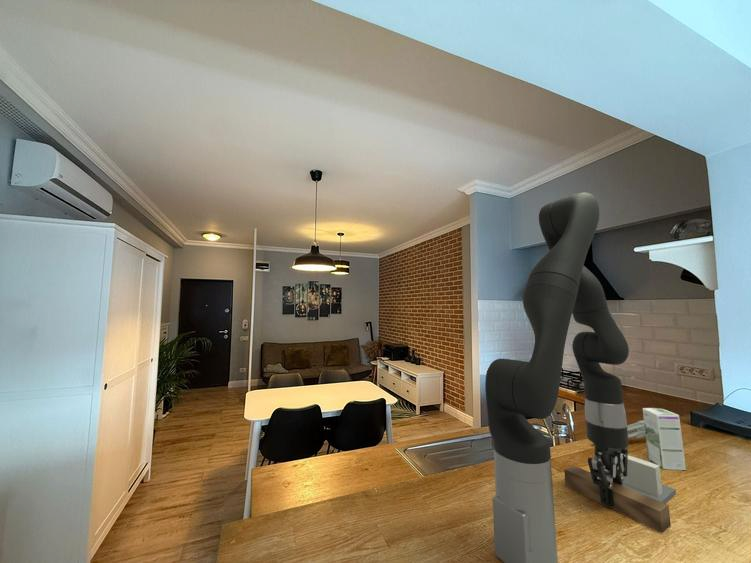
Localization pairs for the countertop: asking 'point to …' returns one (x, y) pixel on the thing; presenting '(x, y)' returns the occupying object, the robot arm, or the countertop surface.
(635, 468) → the board
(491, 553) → the countertop surface
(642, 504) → the walnut bar
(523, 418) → the robot arm
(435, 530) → the countertop surface
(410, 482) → the countertop surface
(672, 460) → the syrup box
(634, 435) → the light grey flat bar
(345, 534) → the countertop surface
